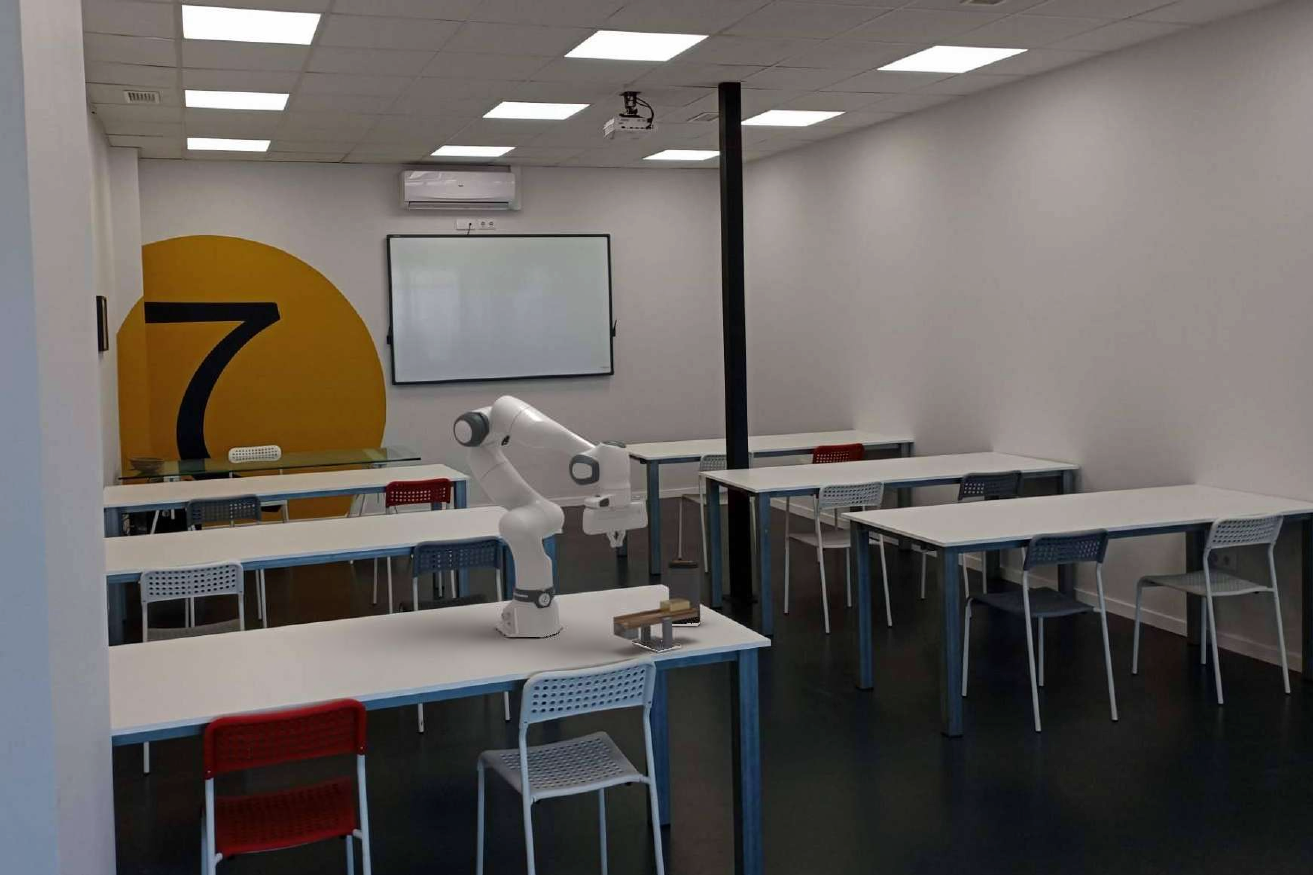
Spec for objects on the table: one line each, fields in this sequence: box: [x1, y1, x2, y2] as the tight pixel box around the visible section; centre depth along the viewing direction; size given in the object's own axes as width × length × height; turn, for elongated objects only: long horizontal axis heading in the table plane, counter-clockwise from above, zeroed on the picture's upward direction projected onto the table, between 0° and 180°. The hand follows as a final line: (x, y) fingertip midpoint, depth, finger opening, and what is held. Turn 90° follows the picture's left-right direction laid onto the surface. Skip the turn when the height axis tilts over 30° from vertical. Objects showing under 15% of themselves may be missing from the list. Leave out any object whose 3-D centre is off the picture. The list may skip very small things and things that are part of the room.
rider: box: [659, 598, 690, 615], centre depth 326 cm, size 5×7×4 cm
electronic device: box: [667, 558, 701, 624], centre depth 345 cm, size 9×6×20 cm, turn 84°
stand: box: [631, 610, 682, 651], centre depth 322 cm, size 13×8×9 cm, turn 36°
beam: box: [612, 607, 698, 641], centre depth 322 cm, size 8×24×5 cm, turn 126°
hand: (616, 546), depth 320 cm, fingers closed
